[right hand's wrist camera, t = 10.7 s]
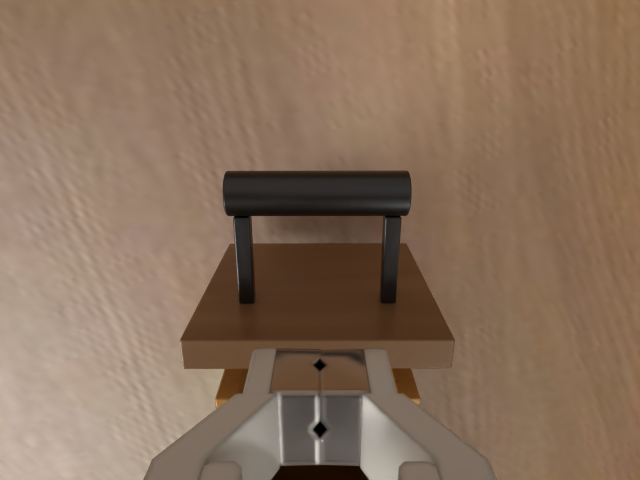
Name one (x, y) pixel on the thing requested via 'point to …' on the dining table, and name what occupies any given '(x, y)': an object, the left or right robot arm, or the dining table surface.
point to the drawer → (316, 288)
